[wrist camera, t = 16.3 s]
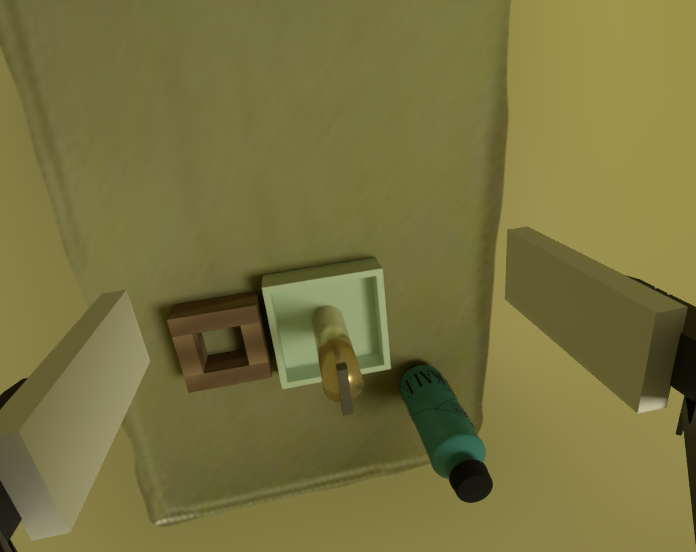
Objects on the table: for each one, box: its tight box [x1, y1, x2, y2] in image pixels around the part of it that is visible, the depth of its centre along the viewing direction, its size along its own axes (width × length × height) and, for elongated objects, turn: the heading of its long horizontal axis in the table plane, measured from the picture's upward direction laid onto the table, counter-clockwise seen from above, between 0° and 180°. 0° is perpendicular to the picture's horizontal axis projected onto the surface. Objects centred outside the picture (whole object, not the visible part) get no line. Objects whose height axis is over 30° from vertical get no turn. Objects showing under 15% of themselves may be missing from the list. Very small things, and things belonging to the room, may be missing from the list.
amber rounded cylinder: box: [312, 305, 364, 416], centre depth 49 cm, size 5×4×15 cm
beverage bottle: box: [400, 365, 493, 503], centre depth 53 cm, size 6×7×20 cm
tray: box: [262, 257, 391, 389], centre depth 55 cm, size 14×14×4 cm
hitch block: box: [167, 291, 272, 393], centre depth 54 cm, size 10×10×4 cm
